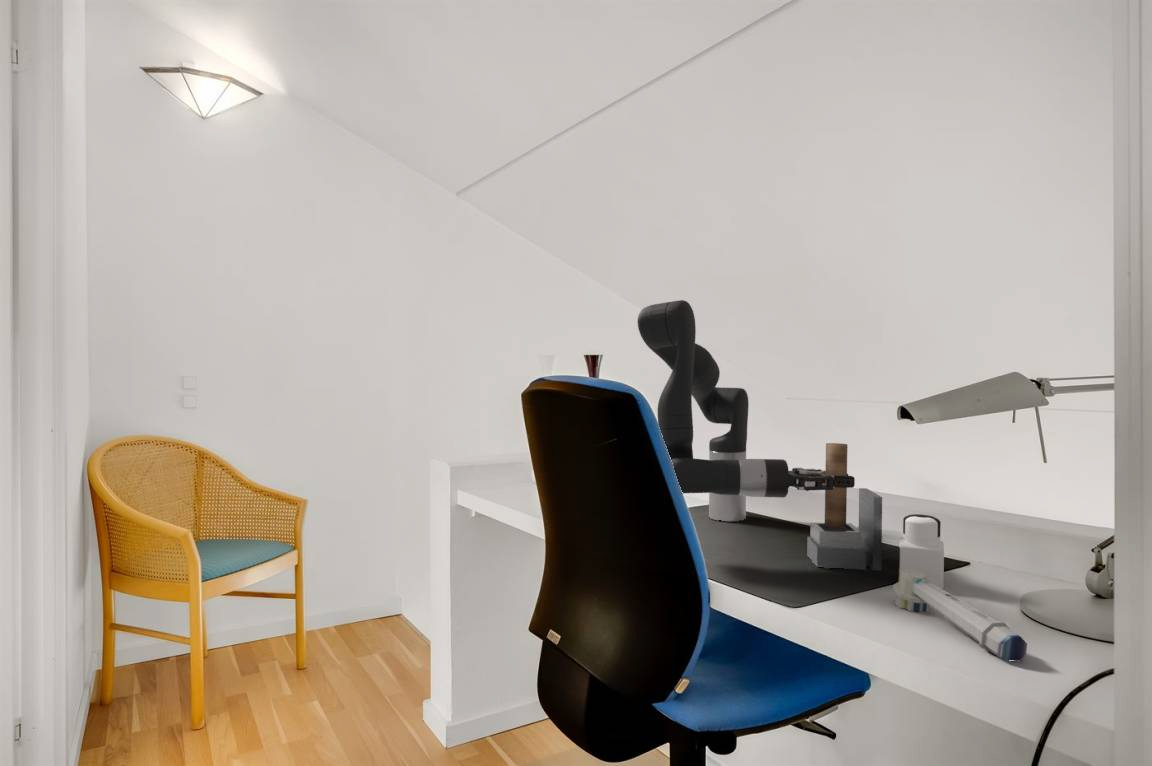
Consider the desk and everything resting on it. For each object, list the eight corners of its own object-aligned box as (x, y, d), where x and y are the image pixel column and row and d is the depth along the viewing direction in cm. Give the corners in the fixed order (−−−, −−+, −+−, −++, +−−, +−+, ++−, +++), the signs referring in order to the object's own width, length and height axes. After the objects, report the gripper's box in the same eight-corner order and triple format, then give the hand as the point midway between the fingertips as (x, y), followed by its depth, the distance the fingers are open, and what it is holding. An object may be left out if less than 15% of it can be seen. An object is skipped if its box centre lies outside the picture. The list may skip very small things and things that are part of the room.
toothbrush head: (998, 636, 95) (888, 559, 120) (992, 683, 96) (885, 598, 121) (1033, 633, 96) (918, 558, 121) (1027, 680, 97) (914, 596, 122)
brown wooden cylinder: (822, 522, 146) (823, 442, 146) (843, 523, 146) (844, 443, 145) (827, 526, 142) (828, 445, 142) (848, 527, 142) (849, 445, 141)
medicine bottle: (900, 574, 136) (900, 510, 136) (942, 579, 133) (943, 514, 132) (898, 585, 129) (899, 518, 129) (943, 590, 126) (944, 521, 126)
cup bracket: (806, 555, 150) (807, 487, 149) (866, 556, 148) (866, 488, 148) (817, 568, 140) (818, 496, 139) (881, 570, 139) (882, 497, 138)
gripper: (767, 463, 138) (861, 465, 136) (756, 455, 152) (841, 456, 150) (767, 503, 138) (860, 505, 136) (756, 490, 152) (841, 492, 151)
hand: (850, 480), depth 143 cm, fingers closed on brown wooden cylinder, 4 cm apart
